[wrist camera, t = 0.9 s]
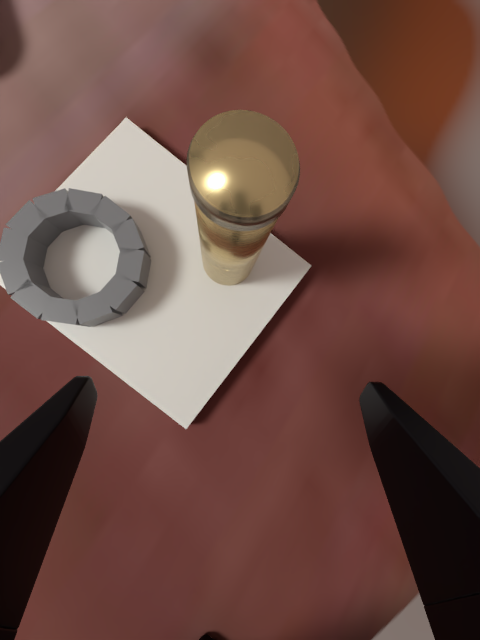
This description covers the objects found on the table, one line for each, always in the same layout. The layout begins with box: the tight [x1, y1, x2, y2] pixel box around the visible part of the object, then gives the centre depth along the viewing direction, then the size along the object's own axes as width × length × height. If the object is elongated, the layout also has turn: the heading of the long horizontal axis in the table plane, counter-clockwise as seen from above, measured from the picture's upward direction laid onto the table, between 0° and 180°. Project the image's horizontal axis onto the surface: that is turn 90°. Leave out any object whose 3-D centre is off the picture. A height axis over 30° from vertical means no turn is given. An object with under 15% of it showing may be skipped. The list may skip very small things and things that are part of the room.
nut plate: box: [0, 118, 311, 429], centre depth 21 cm, size 19×16×3 cm
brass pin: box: [187, 110, 300, 286], centre depth 16 cm, size 4×4×12 cm
